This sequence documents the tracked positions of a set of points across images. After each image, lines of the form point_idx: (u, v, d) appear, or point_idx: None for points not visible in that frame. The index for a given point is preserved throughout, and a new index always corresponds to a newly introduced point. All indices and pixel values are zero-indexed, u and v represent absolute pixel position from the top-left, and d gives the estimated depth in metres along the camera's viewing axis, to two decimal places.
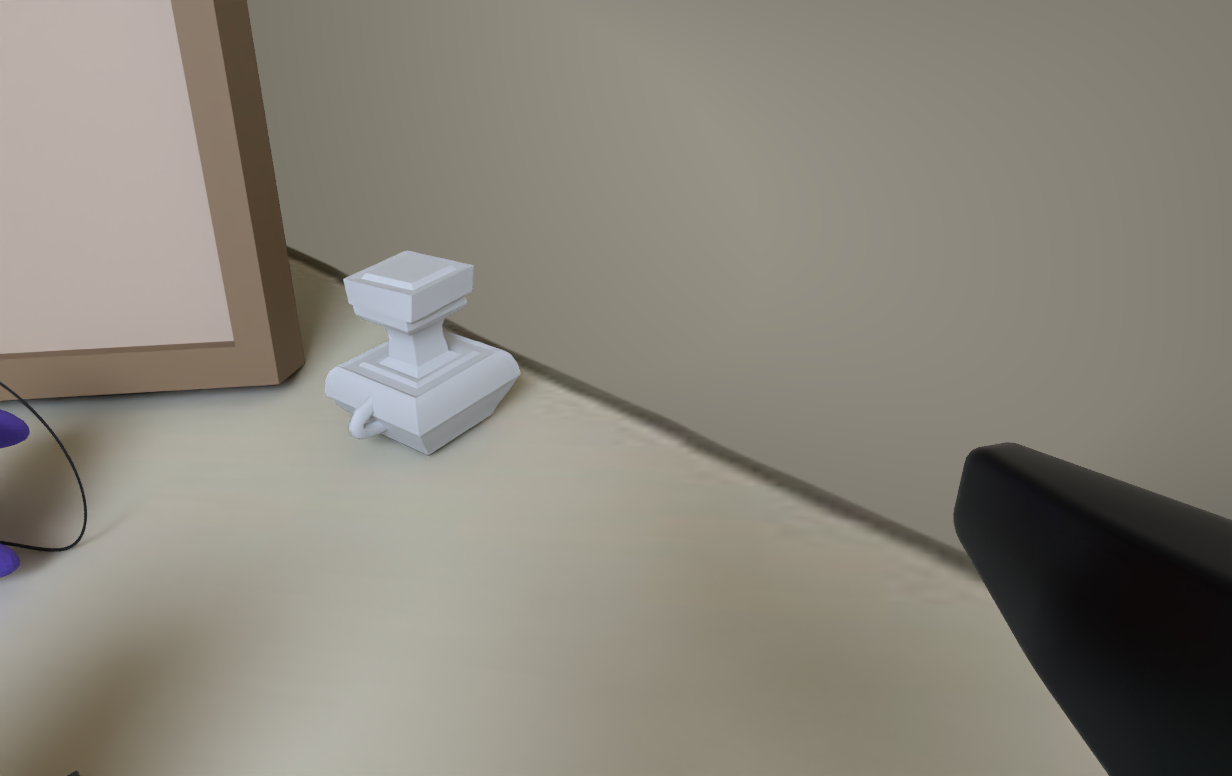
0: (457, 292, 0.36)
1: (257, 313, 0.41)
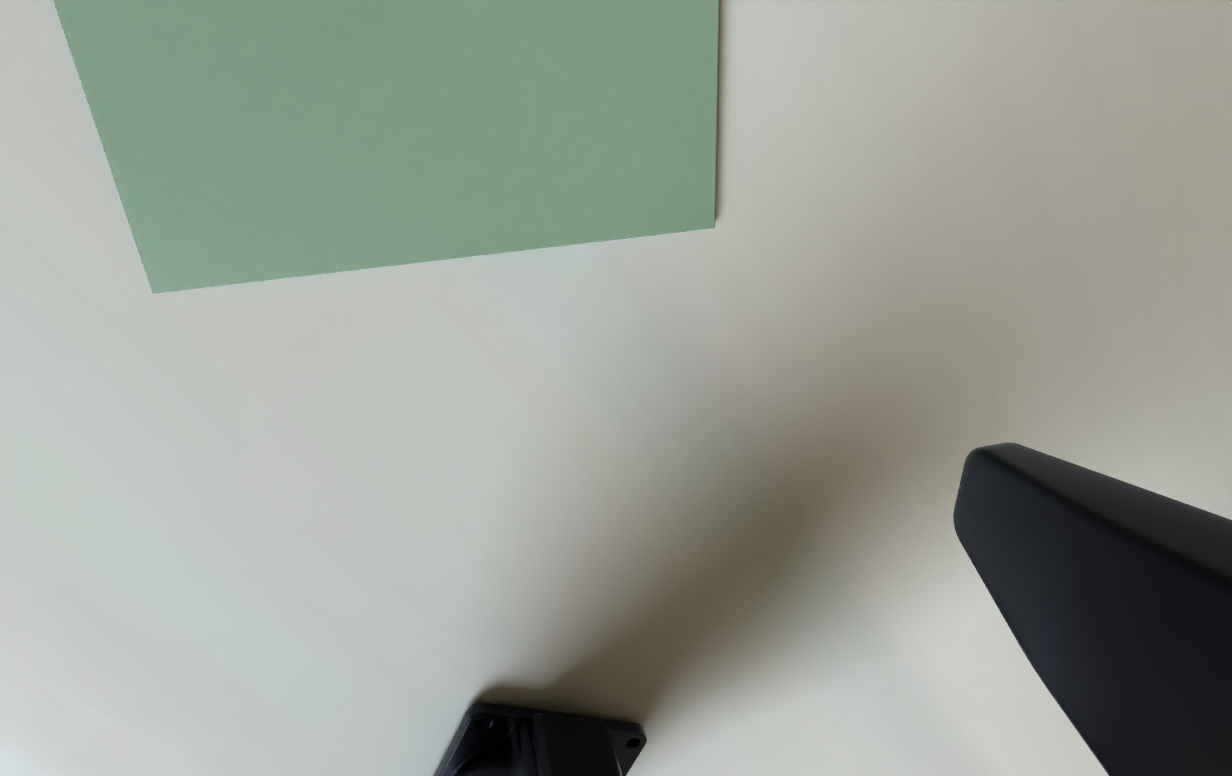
0: None
1: None
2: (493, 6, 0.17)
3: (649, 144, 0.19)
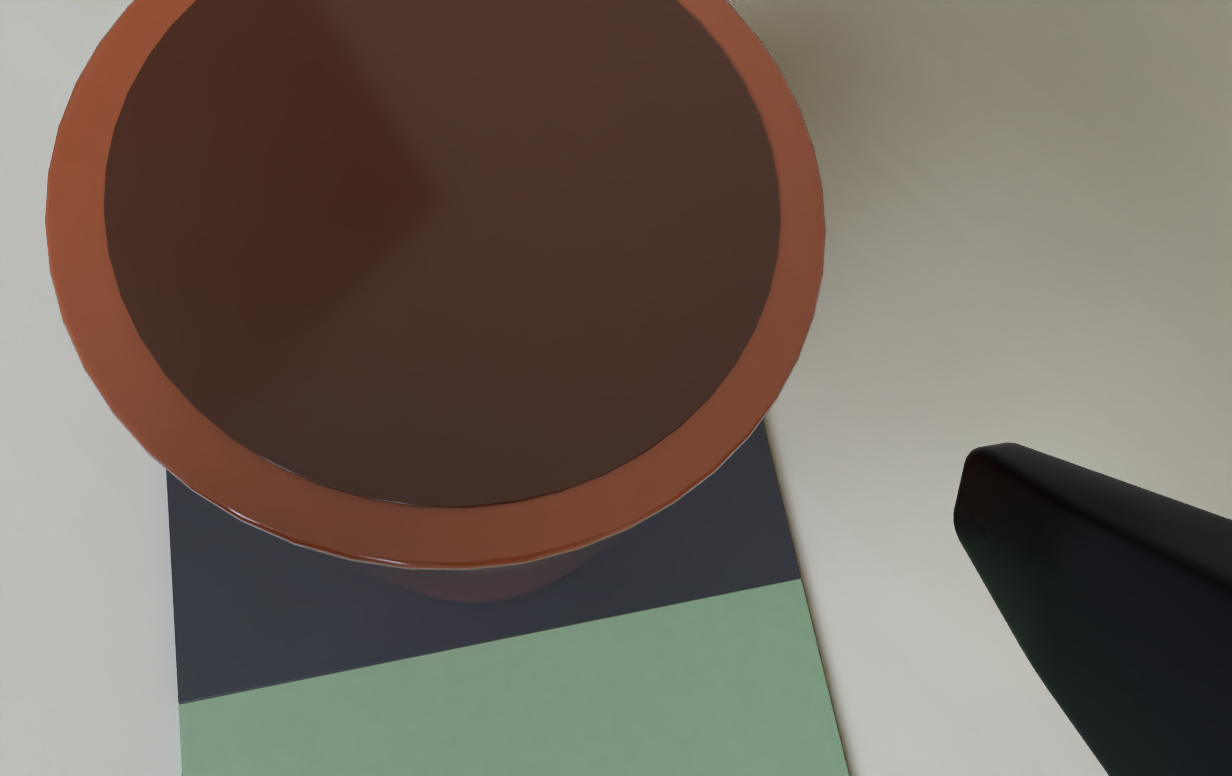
0: None
1: None
2: None
3: None
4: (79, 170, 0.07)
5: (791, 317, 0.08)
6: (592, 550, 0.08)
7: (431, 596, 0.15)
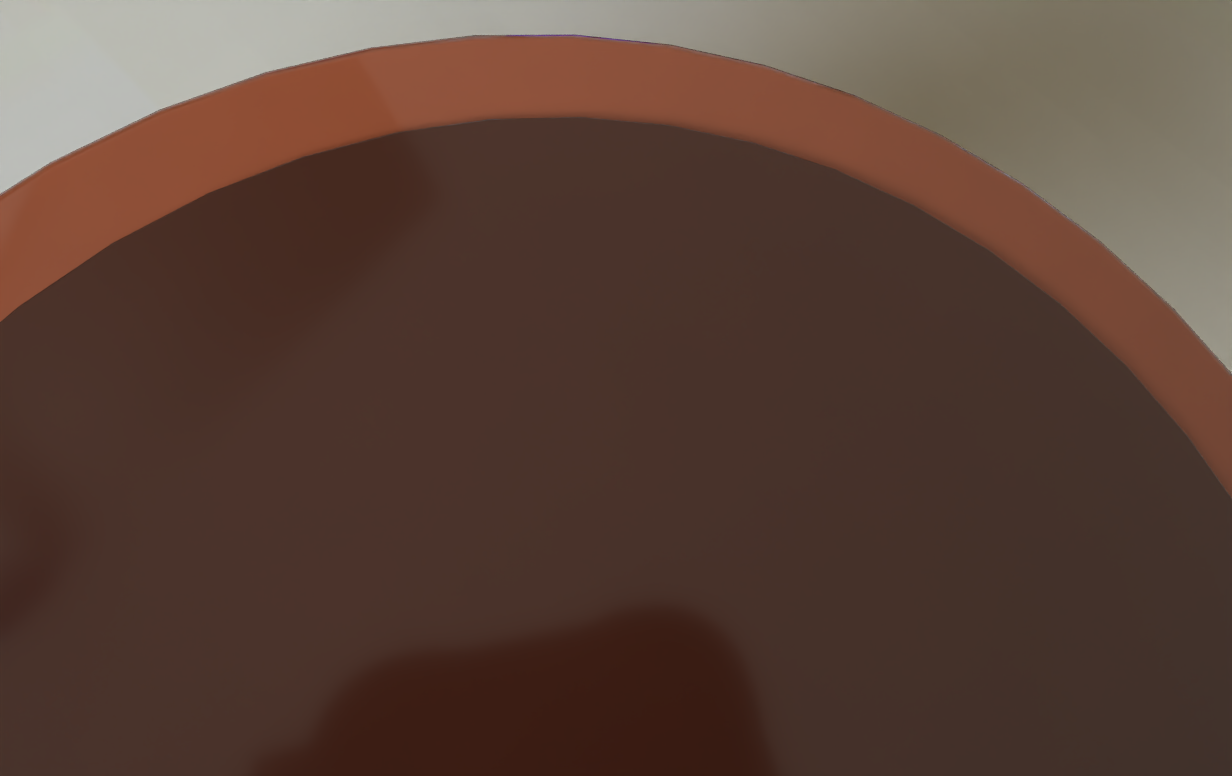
0: None
1: None
2: None
3: None
4: None
5: None
6: None
7: None
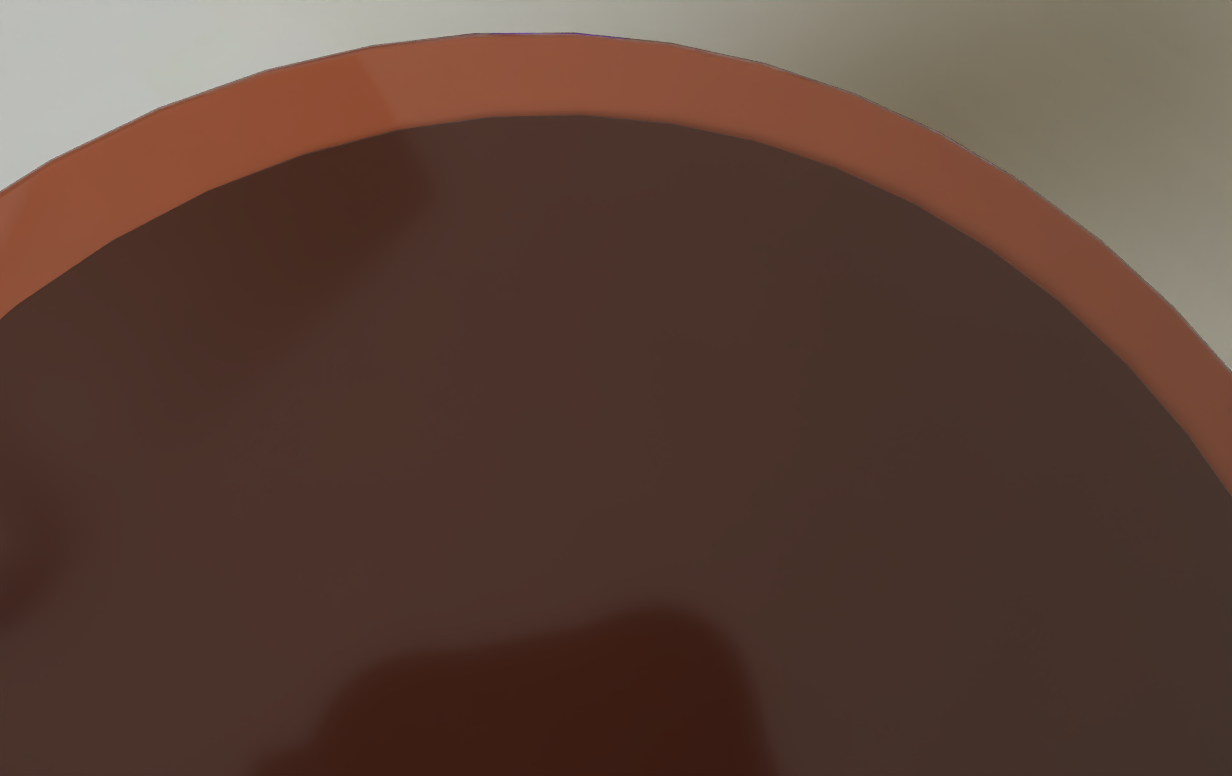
0: None
1: None
2: None
3: None
4: None
5: None
6: None
7: None
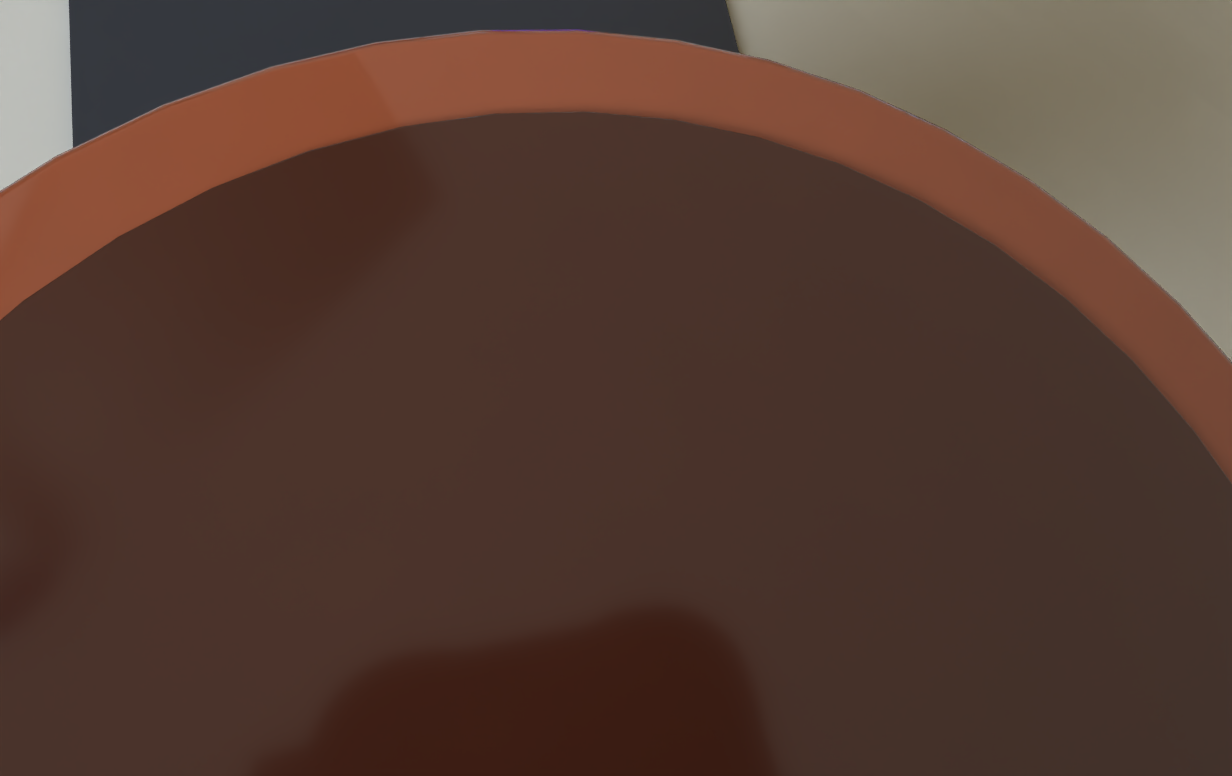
0: None
1: None
2: None
3: None
4: None
5: None
6: None
7: None
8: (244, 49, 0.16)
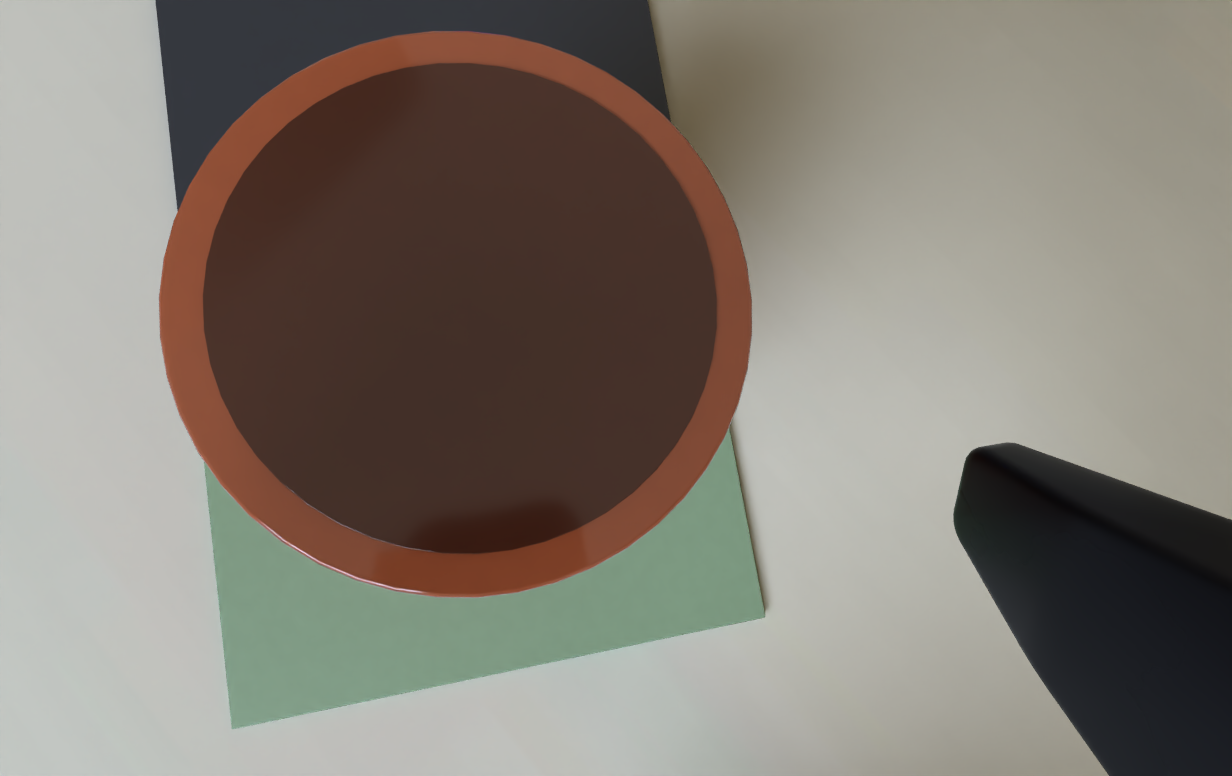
0: None
1: None
2: None
3: (689, 543, 0.21)
4: (182, 294, 0.09)
5: (721, 405, 0.10)
6: None
7: None
8: None
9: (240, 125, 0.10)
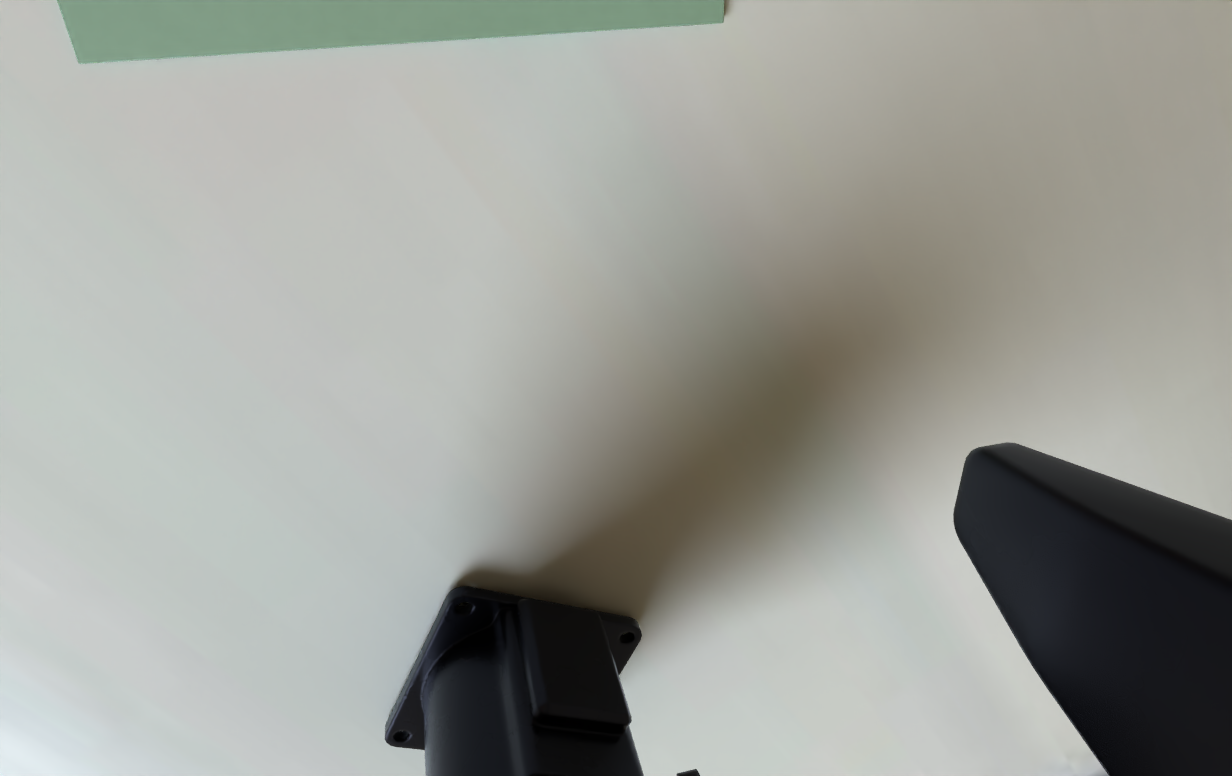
0: None
1: None
2: None
3: None
4: None
5: None
6: None
7: None
8: None
9: None
